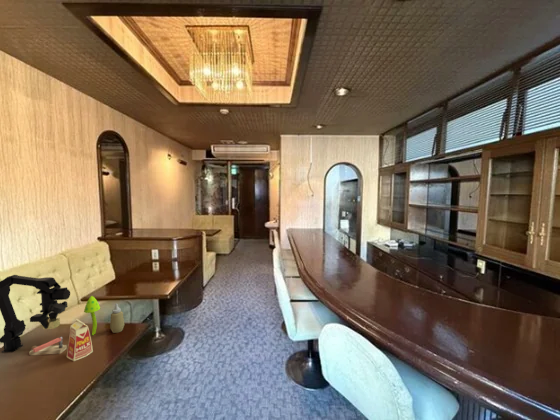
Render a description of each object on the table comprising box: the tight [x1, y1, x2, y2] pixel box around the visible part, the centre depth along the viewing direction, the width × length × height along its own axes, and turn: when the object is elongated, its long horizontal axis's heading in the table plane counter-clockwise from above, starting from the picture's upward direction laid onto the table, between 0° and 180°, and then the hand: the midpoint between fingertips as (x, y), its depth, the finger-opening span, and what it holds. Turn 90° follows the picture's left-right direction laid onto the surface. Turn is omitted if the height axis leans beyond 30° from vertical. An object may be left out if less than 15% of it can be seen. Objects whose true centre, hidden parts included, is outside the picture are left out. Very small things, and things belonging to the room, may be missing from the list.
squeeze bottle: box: [109, 303, 125, 334], centre depth 170 cm, size 8×8×18 cm
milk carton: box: [66, 318, 94, 362], centre depth 144 cm, size 9×9×20 cm
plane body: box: [28, 340, 68, 356], centre depth 148 cm, size 16×5×6 cm, turn 95°
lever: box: [33, 336, 63, 352], centre depth 143 cm, size 13×2×2 cm, turn 159°
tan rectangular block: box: [42, 317, 61, 330], centre depth 152 cm, size 6×4×4 cm
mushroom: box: [83, 295, 101, 336], centre depth 165 cm, size 8×8×25 cm
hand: (49, 326), depth 152 cm, fingers closed on tan rectangular block, 4 cm apart
